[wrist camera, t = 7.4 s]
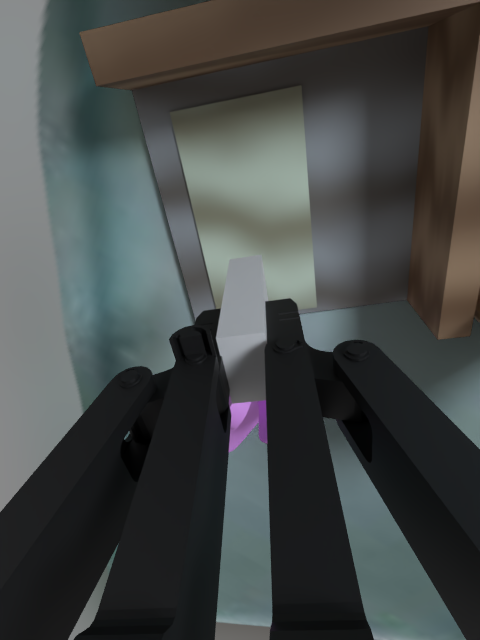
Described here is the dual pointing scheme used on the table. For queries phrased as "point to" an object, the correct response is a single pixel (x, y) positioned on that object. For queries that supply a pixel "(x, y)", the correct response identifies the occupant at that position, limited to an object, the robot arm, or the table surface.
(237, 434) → the bracket
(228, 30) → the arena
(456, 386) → the table surface
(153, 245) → the table surface
